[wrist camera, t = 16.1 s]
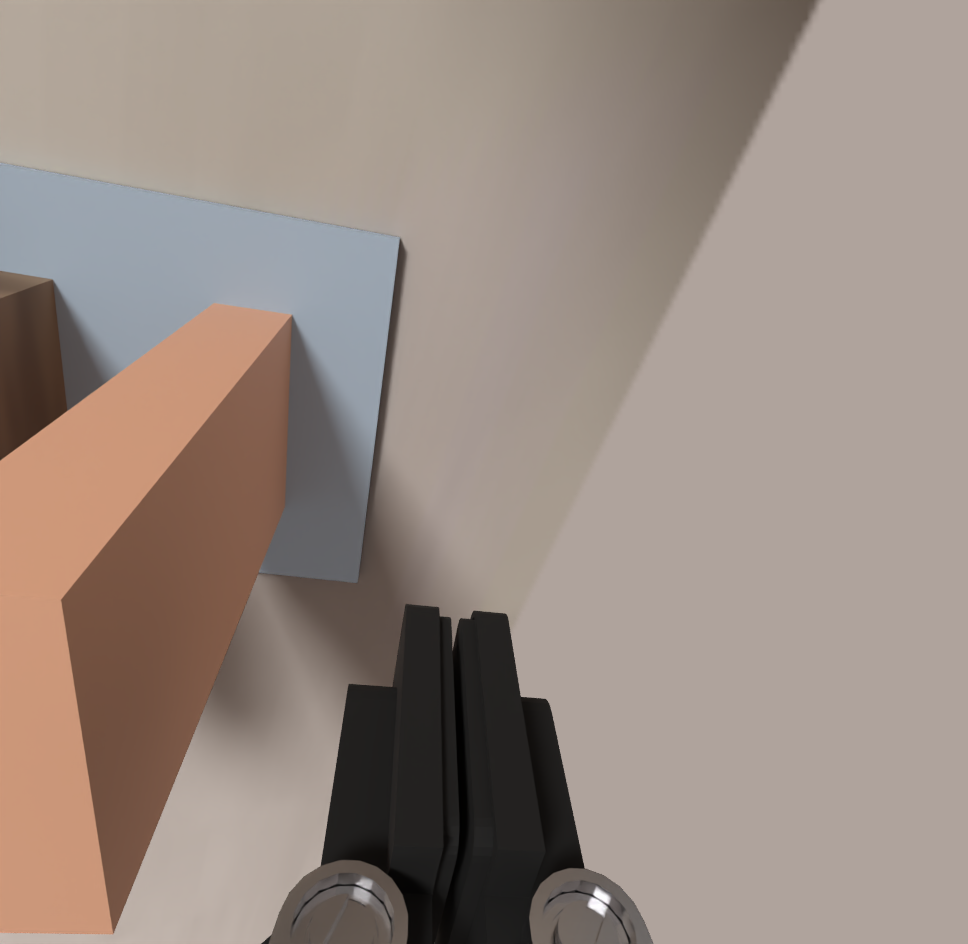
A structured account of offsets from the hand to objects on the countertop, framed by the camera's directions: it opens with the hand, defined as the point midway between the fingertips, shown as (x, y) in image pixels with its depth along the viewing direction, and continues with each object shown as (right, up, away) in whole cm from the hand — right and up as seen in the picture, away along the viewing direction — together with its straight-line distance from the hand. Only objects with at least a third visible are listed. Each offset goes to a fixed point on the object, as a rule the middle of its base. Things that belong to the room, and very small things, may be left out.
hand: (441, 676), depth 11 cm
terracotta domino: (-6, +5, +8) cm, 11 cm away
